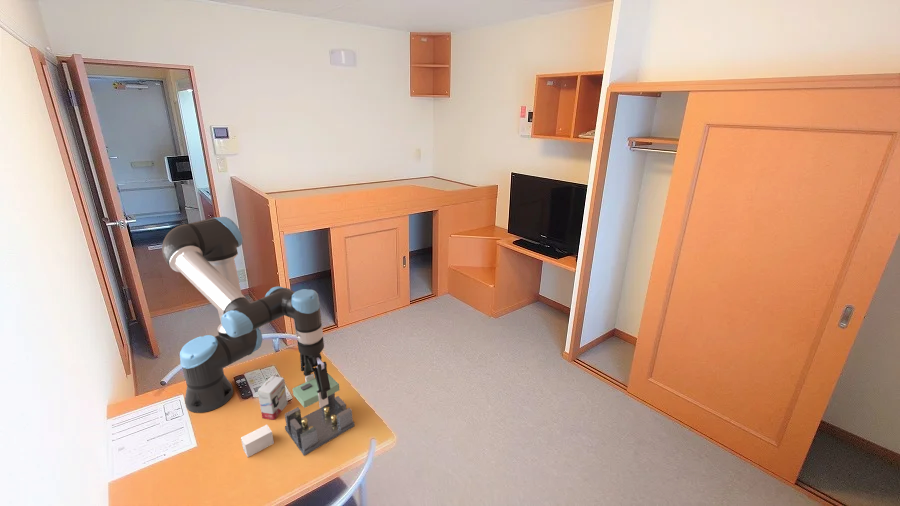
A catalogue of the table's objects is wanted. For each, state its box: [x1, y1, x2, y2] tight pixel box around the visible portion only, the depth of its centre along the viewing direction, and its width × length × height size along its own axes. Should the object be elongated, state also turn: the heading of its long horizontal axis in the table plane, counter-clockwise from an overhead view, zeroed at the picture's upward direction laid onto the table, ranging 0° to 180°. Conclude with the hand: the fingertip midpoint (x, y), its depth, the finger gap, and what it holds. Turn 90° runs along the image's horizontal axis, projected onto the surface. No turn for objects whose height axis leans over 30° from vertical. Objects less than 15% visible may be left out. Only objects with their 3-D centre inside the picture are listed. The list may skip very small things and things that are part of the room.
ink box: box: [257, 375, 288, 421], centre depth 140 cm, size 9×5×12 cm, turn 168°
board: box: [292, 373, 341, 409], centre depth 129 cm, size 8×12×3 cm, turn 134°
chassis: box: [284, 392, 356, 457], centre depth 134 cm, size 14×18×7 cm
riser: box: [240, 424, 275, 458], centre depth 126 cm, size 4×8×5 cm, turn 134°
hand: (317, 398), depth 130 cm, fingers closed on board, 8 cm apart
